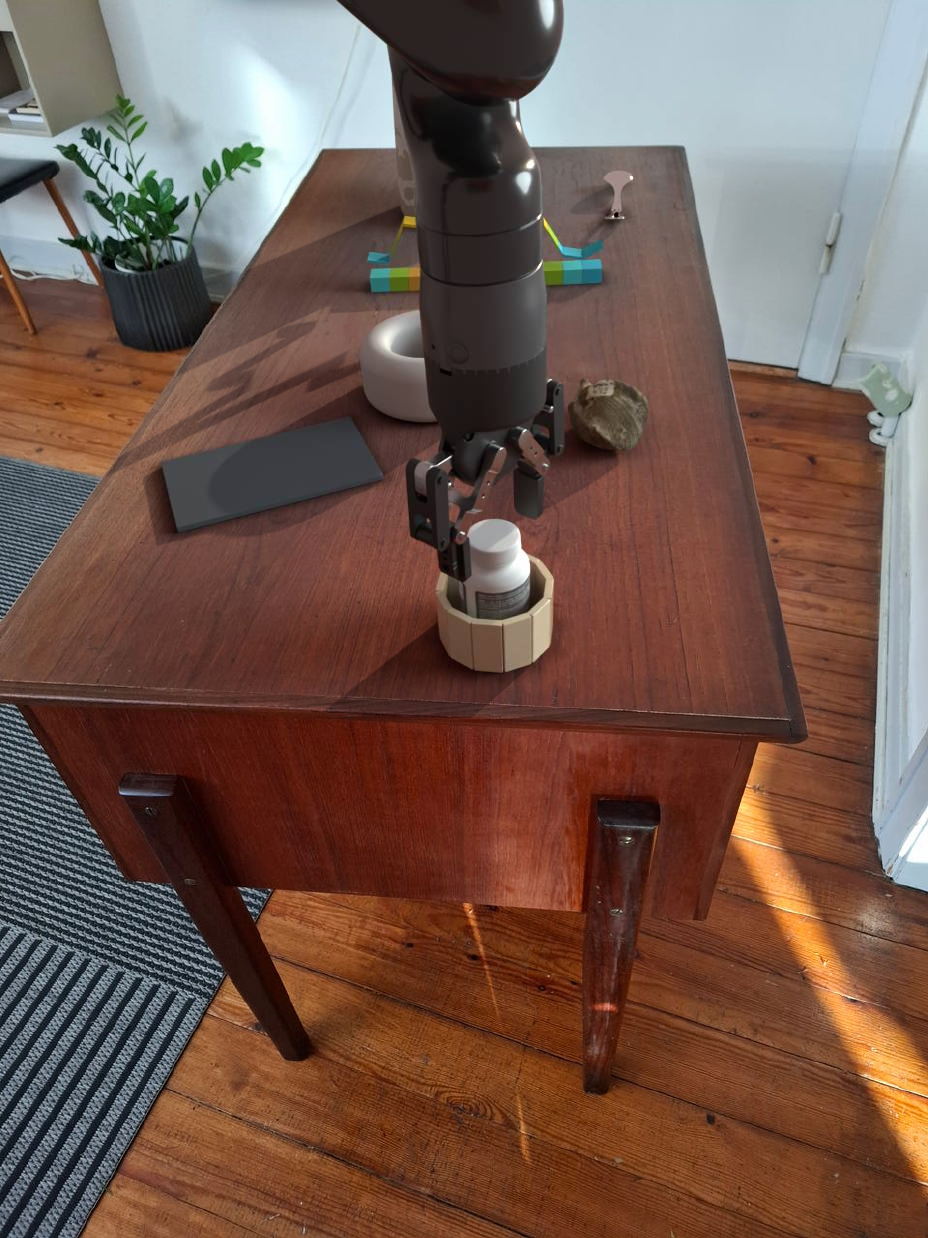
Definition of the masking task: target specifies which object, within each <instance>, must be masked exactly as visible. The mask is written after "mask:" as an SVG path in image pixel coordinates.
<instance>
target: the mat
mask: <svg viewBox="0 0 928 1238" xmlns="http://www.w3.org/2000/svg"><path fill="white" fill-rule="evenodd" d="M160 465H161V470H162V474H163V477H164V482H165V486H166V490H167V494H168V499H169V503H170V507H171V512H172V515H173V519H174V525H175V528H176V531H177V533H182V532H187V531H190V530H194V529H198V528H202V527H206V526H210V525H215V524H217V523H222V522H226V521H229V520H233V519H237V518H241V517H245V516H248V515H252V514H256V513H261V512H263V511H267V510H271V509H276V508H279V507H283V506H287V505H291V504H294V503H299V502H302V501H305V500H306V501H307V500H310V499H313V498H317V497H318V498H319V497H321V496H325V495H329V494H333V493H337V492H341V491H344V490H345V491H346V490H348V489H352V488H355V487H360V486H364V485H367V484H371V483H375V482H380V481H383V480H384V474H383V472H382V470H381V468H380V467H379V465H378V462H377V461H376V460H375V458H374V456H373V455H372V452H371V451H370V449H369V447H368V446H367V443H366V442H365V439H364V438H363V437H362V435H361V433H360V431H359V430H358V428H357V426H356V424H355V422H354V420H353V419H352V417H351V416H345V417H341V418H337V419H333V420H329V421H324V422H320V423H315V424H312V425H308V426H304V427H303V426H302V427H299V428H295V429H290V430H287V431H282V432H279V433H274V434H271V435H266V436H262V437H257V438H254V439H250V440H246V441H241V442H237V443H234V444H229V445H225V446H221V447H217V448H212V449H208V450H204V451H199V452H195V453H192V454H188V455H183V456H179V457H174V458H170V459H166V460H162V461H160Z"/></svg>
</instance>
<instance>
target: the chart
mask: <svg viewBox="0 0 928 1238" xmlns="http://www.w3.org/2000/svg"><path fill="white" fill-rule="evenodd" d="M404 227H406V228H413V229H416V222H415V217H409V216H404V217H403V219H402V222H401V224H400V226H399V229H398V232H397V234H396V237H395V239H394V242H393V244H392V246H391V249H390V251H389V253H381V252H372V251H369V252H368V256H367V263H368V264H374V265H383V266H388V265H390V261H391V259H392V256H393V254H394V252H395V249H396V246H397V244H398V241H399V239H400V237H401V234H402V231H403V229H404ZM543 229H544V231H546V233H547V235H548V236H549V238H550V239H551V241H552V243H553V244H554V245H555V247H556V249H557V250H558V252H559V253H560V255H561V256H562V257H563V258H564V259H572V260H555V261H554V260H552V261H543V269H544V277H545V284H546V286H557V285H560V286H561V285H562V286H563V285H578V284H579V285H581V284H582V285H583V284H602V281H603V266H602V260H601V259H598V258H597V259H588V258H591V256H593V255H595V254H597V253H599V252H600V251H602V250H603V249H604V244H603V240H602V238H599V239H597V240H596V241H594V242H592V243H590V244H589V245H587V246H585V247H583V248H582V249H581V248H575V247H568V246H563V245H562V244H561V243H560V241H559V239H558V238H557V236H556V234H555V233H554V231H553V230H552V229H551V226H550V225H549V224H548V222H547V221H546V218H544V216H543ZM369 283H370V290H371V293H385V292H386V293H387V292H392V293H393V292H414V291H415V292H417V291H418V292H419V289H420V266H417V267H392V268H391V267H388V268H387V267H385V268H372V269H371V271H370V276H369Z"/></svg>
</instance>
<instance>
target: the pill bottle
mask: <svg viewBox="0 0 928 1238" xmlns="http://www.w3.org/2000/svg"><path fill="white" fill-rule="evenodd" d="M467 537H469V540H470V554H471V569H472V576H471V577H470V578H468V579H467V580H466V581H465V582H460V581H459V591H460V603H461V611H460V612H462V613H464V614H466V615H468V616H470V617H472V618H475V619H489V620H505V619H508V618H511V617H515V616H518V615H521V614H524V613H527V612H528V611H530V610H531V608H530V563H529V559H528V557H527V555H526V554H527V553H526V552H525V551H524V550H523V549H522V541H521V540H522V539H521V532H520V529H519V527H517V525H515V524H514V523H512V522H510V521H508V520H506V519H501V518H488V519H484V520H481V521H478V522H476V523H474V524H472V525H471V526H470V529H469V532H468V535H467Z"/></svg>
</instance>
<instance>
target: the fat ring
mask: <svg viewBox="0 0 928 1238" xmlns="http://www.w3.org/2000/svg"><path fill="white" fill-rule="evenodd" d="M358 359H359V365H360V373H361V380H362V387H363V391H364V394H365V397H366V398H367V400H368V402H369V403H370V404H371V405H372V406H373V408H375V409H376V410H378V411H379V412H380V413H382V414H384V415H386V416H389V417H391V418H393V419H397V420H401V421H406V422H413V423H438V421H437V420H436V418H435V416H434V415H433V413H432V411H431V409H430V407H429V403H428V393H427V383H426V372H425V362H424V352H423V341H422V331H421V321H420V310H419V309H416V310H411V311H407V312H403V313H400V314H397V315H393V316H391V317H388V318H386V319H385V320H382V321H381V322H379V323H378V324H377V323H376V325H374V326H373V327H372V328H371V329H369V331H368V332H367V333H366V334H365V335H364V337H363V339H362V340H361V342H360V346H359V351H358Z"/></svg>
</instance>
